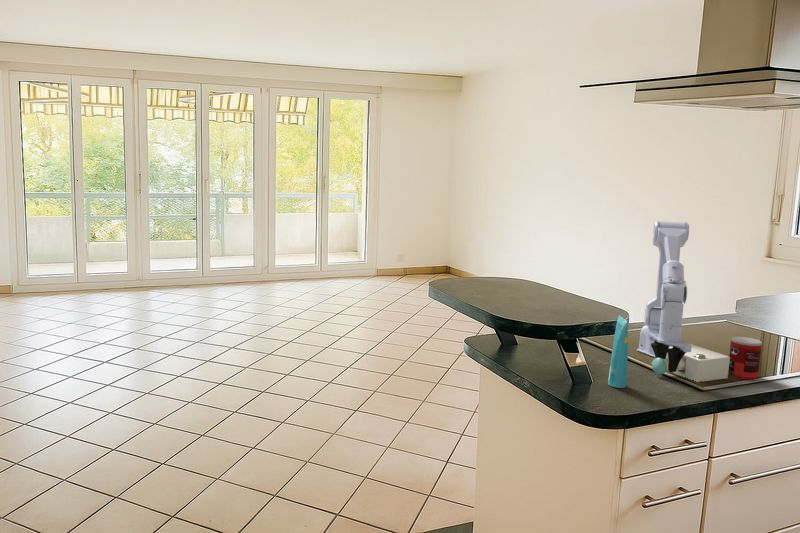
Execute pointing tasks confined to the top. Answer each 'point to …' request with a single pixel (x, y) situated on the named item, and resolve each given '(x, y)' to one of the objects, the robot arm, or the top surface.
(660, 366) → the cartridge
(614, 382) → the tube
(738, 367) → the canned food
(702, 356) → the plunger
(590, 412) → the top surface
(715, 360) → the housing
